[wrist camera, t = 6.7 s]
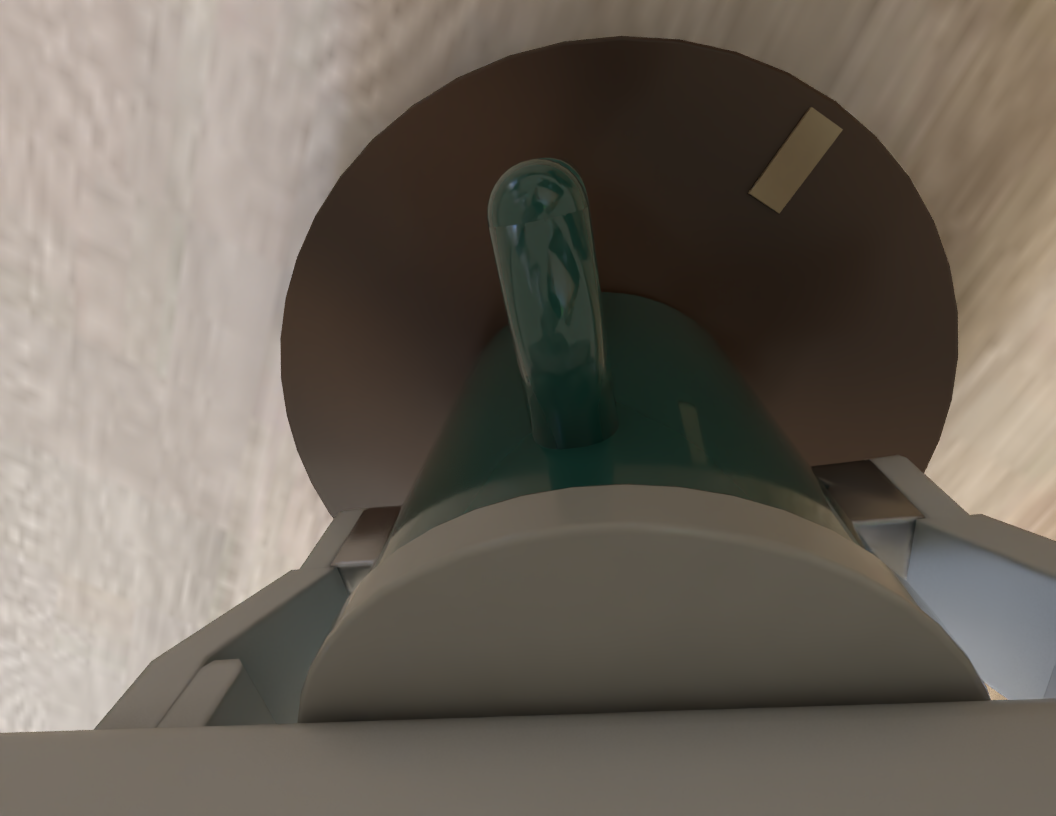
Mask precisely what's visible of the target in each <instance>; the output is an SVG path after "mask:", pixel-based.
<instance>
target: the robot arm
mask: <svg viewBox="0 0 1056 816" xmlns="http://www.w3.org/2000/svg"><path fill="white" fill-rule="evenodd" d="M810 467H811V468H812V469H813V471H814V472H815V473H816V475H817V476H818V477H819V479H820V480H821V481H822V483H823V484H824V485H825V487H826V488H827V490H828V491H829V492H830V494H831V495H832V496H833V498H834V499H835V500H836V502H837V503H838V504H839V506H840V507H841V508H842V510H843V511H844V512H845V514H846V515H847V516H848V518H849V519H850V520H851V522H852V523H853V525H854V526H855V527H856V529H857V530H858V531H859V533H860V534H861V535H862V537H863V538H864V539H865V541H866V542H867V543H868V545H869V546H870V547H871V549H872V550H873V551H874V553H875V554H876V555H877V557H878V558H879V559H880V560H881V561H882V562H883V563H885V564H886V565H887V566H888V567H890V568H891V569H892V570H893V571H895V572H896V573H897V574H898V575H900V576H901V577H902V578H903V579H905V580H906V581H907V582H908V583H909V584H910V585H911V587H912V588H913V589H914V590H915V591H916V592H917V593H918V594H919V596H920V597H921V598H922V599H923V600H924V601H925V602H926V603H927V604H928V606H929V607H930V608H931V609H932V610H933V611H934V613H935V614H936V615H937V616H938V618H939V619H940V620H941V622H942V623H943V624H944V625H945V627H946V628H947V629H948V631H949V632H950V633H951V634H952V636H953V637H954V638H955V640H956V641H957V642H958V644H959V645H960V646H961V647H962V649H963V650H964V651H965V653H966V654H967V655H968V657H969V658H970V660H971V662H972V663H973V665H974V667H975V669H976V670H977V672H978V674H979V675H980V677H981V679H982V680H983V682H984V683H986V684H987V685H989V686H990V687H991V688H993V689H994V690H996V691H997V692H998V693H1000V694H1001V695H1003V696H1004V697H1006V698H1007V699H1008V700H988V701H960V702H931V703H900V704H868V705H836V706H804V707H772V708H740V709H708V710H677V711H648V712H618V713H588V714H559V715H529V716H500V717H470V718H440V719H410V720H379V721H349V722H319V723H297V720H298V711H299V703H300V694H301V690H302V687H303V684H304V681H305V678H306V675H307V672H308V670H309V667H310V664H311V662H312V660H313V658H314V656H315V655H316V653H317V651H318V649H319V647H320V645H321V643H322V641H323V639H324V637H325V635H326V634H327V632H328V630H329V628H330V626H331V624H332V622H333V621H334V619H335V617H336V616H337V614H338V612H339V611H340V609H341V607H342V606H343V604H344V602H345V600H346V599H347V598H348V596H349V595H350V594H351V593H352V592H353V591H354V590H355V588H356V587H357V586H358V585H359V584H360V583H361V581H362V580H363V579H364V578H365V577H366V576H367V575H368V573H369V571H370V569H371V567H372V565H373V563H374V561H375V559H376V557H377V555H378V553H379V551H380V549H381V547H382V545H383V543H384V541H385V539H386V537H387V535H388V533H389V531H390V529H391V527H392V525H393V523H394V521H395V519H396V517H397V515H398V513H399V511H400V509H401V507H402V505H399V506H386V507H373V508H360V509H351V510H344V511H341V512H339V513H338V514H337V515H336V517H335V518H334V519H333V521H332V522H331V524H330V525H329V527H328V528H327V530H326V531H325V533H324V534H323V536H322V537H321V539H320V540H319V541H318V543H317V544H316V546H315V547H314V549H313V550H312V552H311V553H310V555H309V556H308V558H307V559H306V561H305V562H304V563H303V565H302V566H301V568H300V569H299V570H291V571H289V572H288V573H286V574H285V575H283V576H282V577H280V578H278V579H277V580H275V581H274V582H272V583H271V584H269V585H268V586H266V587H265V588H263V589H262V590H260V591H259V592H257V593H255V594H254V595H252V596H251V597H249V598H248V599H246V600H245V601H243V602H242V603H240V604H239V605H237V606H235V607H234V608H232V609H231V610H229V611H228V612H226V613H225V614H223V615H222V616H220V617H219V618H217V619H216V620H214V621H212V622H211V623H209V624H208V625H206V626H205V627H203V628H202V629H200V630H199V631H197V632H196V633H194V634H193V635H191V636H189V637H188V638H186V639H185V640H183V641H182V642H180V643H179V644H177V645H176V646H174V647H173V648H171V649H169V650H168V651H166V652H165V653H163V654H162V655H160V656H159V657H157V658H156V659H154V660H153V661H151V663H150V664H149V665H148V666H147V667H146V668H145V670H144V671H143V672H142V673H141V674H140V676H139V677H138V678H137V679H136V680H135V681H134V683H133V684H132V685H131V686H130V687H129V689H128V690H127V691H126V692H125V693H124V694H123V696H122V697H121V698H120V699H119V700H118V701H117V703H116V704H115V705H114V706H113V707H112V709H111V710H110V711H109V712H108V713H107V714H106V716H105V717H104V718H103V719H102V720H101V722H100V723H99V724H98V725H97V726H96V727H95V729H94V730H76V731H45V732H14V733H0V816H1056V541H1054V540H1051V539H1048V538H1046V537H1043V536H1040V535H1037V534H1035V533H1032V532H1029V531H1026V530H1024V529H1021V528H1018V527H1015V526H1013V525H1010V524H1007V523H1004V522H1002V521H999V520H996V519H993V518H991V517H988V516H985V515H983V514H977V515H969V514H968V513H967V512H966V511H965V510H964V509H962V508H961V507H960V506H959V505H958V504H957V503H956V502H955V501H954V500H953V499H951V498H950V497H949V496H948V495H947V494H946V493H945V492H944V491H943V490H942V489H940V488H939V487H938V486H937V485H936V484H935V483H934V482H933V481H932V480H931V479H929V478H928V477H927V476H926V475H925V474H924V473H923V472H922V471H921V470H920V469H918V468H917V467H916V466H915V465H914V464H913V463H912V462H911V461H910V460H909V459H907V458H906V457H903V456H900V455H895V456H887V457H879V458H872V459H865V460H860V461H851V462H842V463H834V464H825V465H816V466H810Z"/></svg>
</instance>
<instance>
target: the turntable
mask: <svg viewBox="0 0 1056 816" xmlns="http://www.w3.org/2000/svg"><path fill="white" fill-rule="evenodd" d="M546 157H563V158H566V159H568V160H570V161H571V162H573V163H574V164H575V165H576V166H577V167H578V168H579V170H580V171H581V173H582V176H583V179H584V183H585V188H586V192H587V197H588V202H589V207H590V215H591V222H592V229H593V237H594V244H595V252H596V259H597V266H598V274H599V281H600V288H601V292H610V293H624V294H630V295H636V296H641V297H645V298H648V299H651V300H655V301H658V302H661V303H663V304H665V305H667V306H670V307H672V308H674V309H676V310H678V311H680V312H682V313H683V314H685V315H686V316H688V317H689V318H691V319H693V320H694V321H696V322H697V323H698V324H699V325H700V326H701V327H703V328H704V329H705V330H706V331H707V332H709V333H710V334H711V336H712V337H713V338H714V339H715V340H716V341H717V342H718V344H719V345H720V346H721V347H722V348H723V350H724V351H725V352H726V354H727V355H728V356H729V358H730V359H731V360H732V362H733V363H734V364H735V366H736V367H737V368H738V370H739V371H740V372H741V374H742V375H743V376H744V378H745V379H746V380H747V382H748V383H749V385H750V386H751V387H752V389H753V390H754V391H755V393H756V394H757V395H758V397H759V398H760V399H761V401H762V402H763V403H764V405H765V406H766V407H767V409H768V410H769V411H770V413H771V414H772V415H773V417H774V418H775V420H776V421H777V422H778V424H779V425H780V426H781V428H782V429H783V430H784V432H785V433H786V434H787V436H788V437H789V438H790V440H791V441H792V442H793V444H794V445H795V446H796V448H797V449H798V450H799V452H800V453H801V455H802V456H803V457H804V459H805V460H806V461H807V463H808V464H809V465H810V466H816V465H825V464H834V463H842V462H851V461H860V460H865V459H872V458H879V457H887V456H895V455H900V456H903V457H906V458H907V459H909V460H910V461H911V462H912V463H913V464H914V465H915V466H916V467H917V468H918V469H920V470H921V471H922V472H923V473H924V472H925V470H926V468H927V465H928V463H929V461H930V459H931V457H932V455H933V453H934V450H935V448H936V446H937V444H938V442H939V440H940V436H941V433H942V430H943V426H944V423H945V420H946V417H947V413H948V410H949V407H950V403H951V400H952V394H953V387H954V381H955V374H956V367H957V360H958V311H957V305H956V300H955V294H954V288H953V282H952V276H951V271H950V266H949V263H948V260H947V257H946V254H945V252H944V249H943V246H942V243H941V240H940V237H939V235H938V232H937V229H936V226H935V223H934V221H933V219H932V217H931V215H930V213H929V212H928V210H927V208H926V206H925V204H924V203H923V201H922V199H921V197H920V196H919V194H918V192H917V190H916V188H915V187H914V185H913V183H912V181H911V179H910V178H909V176H908V175H907V174H906V173H905V171H904V170H903V169H902V168H901V166H900V165H899V164H898V163H897V161H896V160H895V159H894V158H893V157H892V155H891V154H890V153H889V152H888V150H887V149H886V148H885V147H884V146H883V144H882V143H881V142H880V141H879V139H878V138H877V137H876V136H875V135H874V134H873V133H871V132H870V131H869V130H868V129H867V128H866V127H865V126H863V125H862V124H861V123H860V122H859V121H858V120H857V119H855V118H854V117H853V116H852V115H851V114H850V113H848V112H847V111H846V110H845V109H844V108H843V107H842V106H840V105H839V104H838V103H837V102H836V101H834V100H832V99H831V98H829V97H827V96H826V95H824V94H823V93H821V92H819V91H818V90H816V89H814V88H813V87H811V86H809V85H808V84H806V83H804V82H803V81H801V80H800V79H798V78H796V77H795V76H793V75H791V74H790V73H788V72H785V71H783V70H780V69H778V68H775V67H773V66H770V65H768V64H765V63H763V62H760V61H758V60H755V59H753V58H750V57H748V56H745V55H743V54H740V53H738V52H734V51H730V50H725V49H721V48H716V47H712V46H707V45H703V44H698V43H694V42H689V41H685V40H680V39H664V38H647V37H630V36H616V37H606V38H596V39H586V40H575V41H565V42H561V43H557V44H553V45H549V46H545V47H541V48H537V49H533V50H529V51H525V52H522V53H518V54H514V55H510V56H507V57H505V58H502V59H500V60H498V61H495V62H493V63H491V64H488V65H486V66H484V67H481V68H479V69H477V70H474V71H472V72H470V73H467V74H465V75H463V76H460V77H458V78H456V79H455V80H453V81H451V82H450V83H448V84H447V85H445V86H443V87H442V88H440V89H438V90H437V91H435V92H434V93H432V94H430V95H429V96H427V97H426V98H424V99H422V100H421V101H419V102H417V103H416V104H414V105H413V106H411V107H410V108H409V109H408V110H407V111H405V112H404V113H403V114H402V115H401V116H400V117H398V118H397V119H396V120H395V121H394V122H392V123H391V124H390V125H389V126H388V127H387V128H385V129H384V130H383V131H382V132H381V133H380V134H378V135H377V136H376V137H375V138H374V139H373V140H372V141H371V142H370V143H369V144H368V145H367V146H366V148H365V149H364V150H363V151H362V152H361V153H360V155H359V156H358V157H357V158H356V159H355V160H354V161H353V163H352V164H351V165H350V166H349V167H348V168H347V169H346V171H345V172H344V173H343V174H342V175H341V176H340V178H339V180H338V181H337V183H336V184H335V186H334V187H333V189H332V191H331V192H330V194H329V195H328V197H327V198H326V200H325V202H324V203H323V205H322V206H321V208H320V209H319V211H318V213H317V214H316V216H315V218H314V220H313V222H312V225H311V227H310V229H309V231H308V234H307V236H306V238H305V240H304V243H303V245H302V247H301V250H300V252H299V254H298V256H297V260H296V263H295V267H294V270H293V274H292V278H291V281H290V285H289V288H288V292H287V296H286V300H285V308H284V316H283V324H282V332H281V380H282V386H283V393H284V399H285V406H286V412H287V417H288V421H289V424H290V427H291V431H292V434H293V438H294V441H295V444H296V448H297V451H298V453H299V456H300V458H301V460H302V462H303V465H304V467H305V469H306V471H307V474H308V476H309V478H310V481H311V483H312V485H313V486H314V488H315V490H316V491H317V493H318V495H319V496H320V498H321V500H322V501H323V503H324V505H325V506H326V508H327V510H328V512H329V513H330V514H331V516H332V517H333V518H335V517H336V515H337V514H338V513H339V512H341V511H344V510H351V509H360V508H373V507H386V506H399V505H403V503H404V501H405V499H406V497H407V495H408V493H409V491H410V489H411V487H412V485H413V483H414V481H415V479H416V477H417V475H418V473H419V471H420V469H421V467H422V465H423V463H424V461H425V459H426V457H427V455H428V453H429V451H430V449H431V447H432V445H433V443H434V441H435V439H436V437H437V435H438V433H439V431H440V429H441V427H442V425H443V423H444V421H445V419H446V417H447V415H448V413H449V411H450V409H451V407H452V405H453V403H454V401H455V399H456V397H457V395H458V393H459V391H460V389H461V387H462V385H463V383H464V381H465V379H466V377H467V375H468V373H469V371H470V369H471V368H472V366H473V364H474V362H475V361H476V359H477V357H478V355H479V354H480V353H481V351H482V350H483V349H484V348H485V346H486V345H487V344H488V343H489V341H490V340H491V339H492V338H493V337H494V336H495V335H496V334H497V333H498V332H499V331H501V330H502V329H503V328H504V327H505V326H506V325H508V324H509V323H508V319H507V314H506V309H505V305H504V300H503V295H502V291H501V286H500V281H499V277H498V272H497V267H496V263H495V258H494V253H493V249H492V244H491V239H490V235H489V230H488V225H487V217H486V214H487V203H488V199H489V196H490V193H491V191H492V189H493V186H494V184H495V183H496V182H497V180H498V179H499V178H500V176H501V175H502V174H503V173H504V172H505V171H507V170H508V169H509V168H510V167H512V166H514V165H515V164H517V163H520V162H522V161H525V160H529V159H537V158H546Z"/></svg>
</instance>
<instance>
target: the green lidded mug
mask: <svg viewBox="0 0 1056 816" xmlns="http://www.w3.org/2000/svg"><path fill="white" fill-rule="evenodd" d="M486 217H487V225H488V230H489V235H490V239H491V244H492V249H493V253H494V258H495V263H496V267H497V272H498V277H499V281H500V286H501V291H502V295H503V300H504V305H505V309H506V314H507V319H508V323H509V324H508V325H506V326H505V327H504V328H503V329H502V330H501V331H499V332H498V333H497V334H496V335H495V336H494V337H493V338H492V339H491V340H490V341H489V343H488V344H487V345H486V346H485V348H484V349H483V350H482V351H481V353H480V354H479V355H478V357H477V359H476V361H475V362H474V364H473V366H472V368H471V369H470V371H469V373H468V375H467V377H466V379H465V381H464V383H463V385H462V387H461V389H460V391H459V393H458V395H457V397H456V399H455V401H454V403H453V405H452V407H451V409H450V411H449V413H448V415H447V417H446V419H445V421H444V423H443V425H442V427H441V429H440V431H439V433H438V435H437V437H436V439H435V441H434V443H433V445H432V447H431V449H430V451H429V453H428V455H427V457H426V459H425V461H424V463H423V465H422V467H421V469H420V471H419V473H418V475H417V477H416V479H415V481H414V483H413V485H412V487H411V489H410V491H409V493H408V495H407V497H406V499H405V501H404V503H403V505H402V507H401V509H400V511H399V513H398V515H397V517H396V519H395V521H394V523H393V525H392V527H391V529H390V531H389V533H388V535H387V537H386V539H385V541H384V543H383V545H382V547H381V549H380V551H379V553H378V555H377V557H376V559H375V561H374V563H373V565H372V567H371V569H370V571H369V573H368V575H367V576H366V577H365V578H364V579H363V580H362V581H361V583H360V584H359V585H358V586H357V587H356V588H355V590H354V591H353V592H352V593H351V594H350V595H349V596H348V598H347V599H346V600H345V602H344V604H343V606H342V607H341V609H340V611H339V612H338V614H337V616H336V617H335V619H334V621H333V622H332V624H331V626H330V628H329V630H328V632H327V634H326V635H325V637H324V639H323V641H322V643H321V645H320V647H319V649H318V651H317V653H316V655H315V656H314V658H313V660H312V662H311V664H310V667H309V670H308V672H307V675H306V678H305V681H304V684H303V687H302V690H301V694H300V703H299V711H298V720H297V723H319V722H349V721H379V720H410V719H440V718H470V717H500V716H529V715H559V714H588V713H618V712H648V711H677V710H708V709H740V708H772V707H804V706H836V705H868V704H900V703H931V702H960V701H988V700H991V699H990V696H989V693H988V690H987V687H986V685H985V684H984V682H983V680H982V679H981V677H980V675H979V674H978V672H977V670H976V669H975V667H974V665H973V663H972V662H971V660H970V658H969V657H968V655H967V654H966V653H965V651H964V650H963V649H962V647H961V646H960V645H959V644H958V642H957V641H956V640H955V638H954V637H953V636H952V634H951V633H950V632H949V631H948V629H947V628H946V627H945V625H944V624H943V623H942V622H941V620H940V619H939V618H938V616H937V615H936V614H935V613H934V611H933V610H932V609H931V608H930V607H929V606H928V604H927V603H926V602H925V601H924V600H923V599H922V598H921V597H920V596H919V594H918V593H917V592H916V591H915V590H914V589H913V588H912V587H911V585H910V584H909V583H908V582H907V581H906V580H905V579H903V578H902V577H901V576H900V575H898V574H897V573H896V572H895V571H893V570H892V569H891V568H890V567H888V566H887V565H886V564H885V563H883V562H882V561H881V560H880V559H879V558H878V557H877V555H876V554H875V553H874V551H873V550H872V549H871V547H870V546H869V545H868V543H867V542H866V541H865V539H864V538H863V537H862V535H861V534H860V533H859V531H858V530H857V529H856V527H855V526H854V525H853V523H852V522H851V520H850V519H849V518H848V516H847V515H846V514H845V512H844V511H843V510H842V508H841V507H840V506H839V504H838V503H837V502H836V500H835V499H834V498H833V496H832V495H831V494H830V492H829V491H828V490H827V488H826V487H825V485H824V484H823V483H822V481H821V480H820V479H819V477H818V476H817V475H816V473H815V472H814V471H813V469H812V468H811V467H810V465H809V464H808V463H807V461H806V460H805V459H804V457H803V456H802V455H801V453H800V452H799V450H798V449H797V448H796V446H795V445H794V444H793V442H792V441H791V440H790V438H789V437H788V436H787V434H786V433H785V432H784V430H783V429H782V428H781V426H780V425H779V424H778V422H777V421H776V420H775V418H774V417H773V415H772V414H771V413H770V411H769V410H768V409H767V407H766V406H765V405H764V403H763V402H762V401H761V399H760V398H759V397H758V395H757V394H756V393H755V391H754V390H753V389H752V387H751V386H750V385H749V383H748V382H747V380H746V379H745V378H744V376H743V375H742V374H741V372H740V371H739V370H738V368H737V367H736V366H735V364H734V363H733V362H732V360H731V359H730V358H729V356H728V355H727V354H726V352H725V351H724V350H723V348H722V347H721V346H720V345H719V344H718V342H717V341H716V340H715V339H714V338H713V337H712V336H711V334H710V333H709V332H707V331H706V330H705V329H704V328H703V327H701V326H700V325H699V324H698V323H697V322H696V321H694V320H693V319H691V318H689V317H688V316H686V315H685V314H683V313H682V312H680V311H678V310H676V309H674V308H672V307H670V306H667V305H665V304H663V303H661V302H658V301H655V300H651V299H648V298H645V297H641V296H636V295H630V294H624V293H610V292H601V288H600V281H599V274H598V266H597V259H596V252H595V244H594V237H593V229H592V222H591V215H590V207H589V202H588V197H587V192H586V188H585V183H584V179H583V176H582V173H581V171H580V170H579V168H578V167H577V166H576V165H575V164H574V163H573V162H571V161H570V160H568V159H566V158H563V157H546V158H537V159H529V160H525V161H522V162H520V163H517V164H515V165H514V166H512V167H510V168H509V169H508V170H507V171H505V172H504V173H503V174H502V175H501V176H500V178H499V179H498V180H497V182H496V183H495V184H494V186H493V189H492V191H491V193H490V196H489V199H488V203H487V214H486Z"/></svg>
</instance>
